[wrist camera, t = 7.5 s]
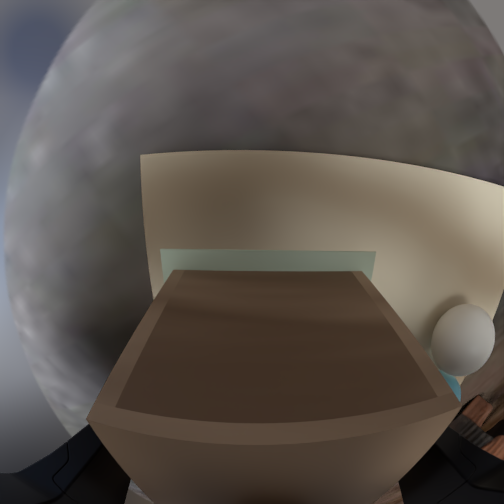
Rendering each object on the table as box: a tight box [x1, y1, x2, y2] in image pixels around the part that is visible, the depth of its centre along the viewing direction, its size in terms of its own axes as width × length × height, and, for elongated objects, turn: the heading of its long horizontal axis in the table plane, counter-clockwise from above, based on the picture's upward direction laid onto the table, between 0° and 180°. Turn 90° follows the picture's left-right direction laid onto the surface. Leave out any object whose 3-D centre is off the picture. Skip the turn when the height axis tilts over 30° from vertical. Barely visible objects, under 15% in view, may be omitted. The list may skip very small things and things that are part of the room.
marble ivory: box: [431, 304, 495, 376], centre depth 8 cm, size 3×3×3 cm
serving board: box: [140, 150, 504, 385], centre depth 11 cm, size 19×16×1 cm
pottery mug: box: [448, 395, 504, 460], centre depth 13 cm, size 12×10×8 cm
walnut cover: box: [86, 270, 462, 504], centre depth 7 cm, size 9×6×7 cm
